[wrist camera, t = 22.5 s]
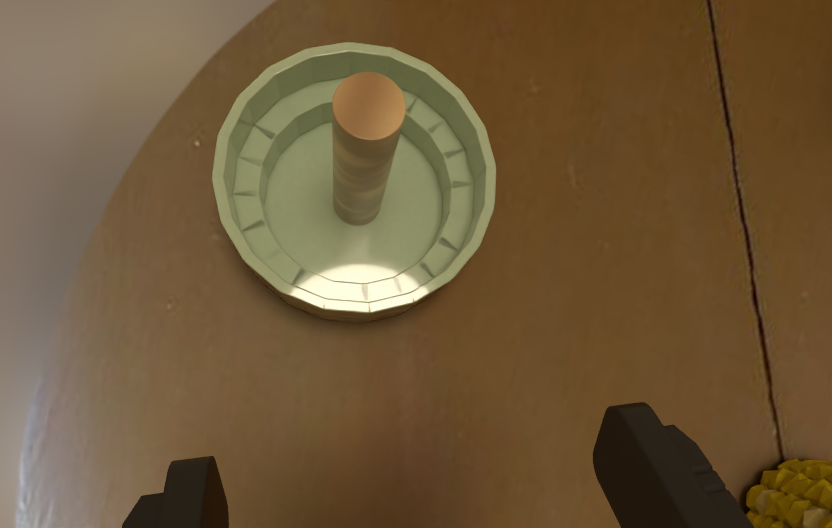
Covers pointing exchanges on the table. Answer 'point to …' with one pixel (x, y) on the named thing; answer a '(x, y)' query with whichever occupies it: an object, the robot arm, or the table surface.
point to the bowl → (313, 186)
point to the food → (793, 496)
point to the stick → (364, 143)
